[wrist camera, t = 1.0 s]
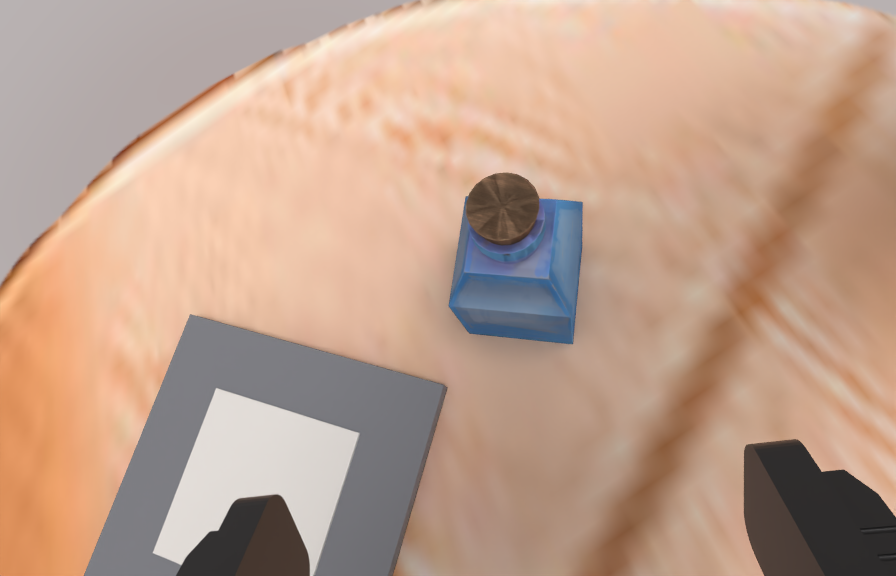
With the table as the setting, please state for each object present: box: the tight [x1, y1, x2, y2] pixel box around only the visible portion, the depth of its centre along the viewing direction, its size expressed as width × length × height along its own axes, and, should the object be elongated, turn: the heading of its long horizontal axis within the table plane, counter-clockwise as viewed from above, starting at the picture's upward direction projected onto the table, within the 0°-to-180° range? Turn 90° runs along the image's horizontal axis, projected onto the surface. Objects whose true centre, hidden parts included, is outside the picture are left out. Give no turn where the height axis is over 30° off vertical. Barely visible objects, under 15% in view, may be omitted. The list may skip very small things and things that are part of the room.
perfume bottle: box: [449, 173, 583, 344], centre depth 31 cm, size 6×6×12 cm
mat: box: [84, 314, 447, 576], centre depth 36 cm, size 18×18×1 cm
